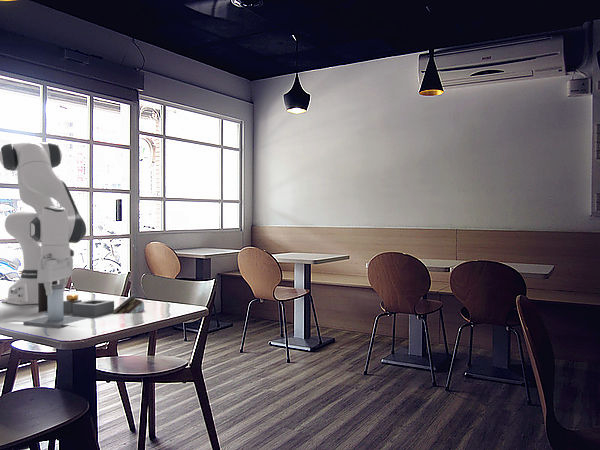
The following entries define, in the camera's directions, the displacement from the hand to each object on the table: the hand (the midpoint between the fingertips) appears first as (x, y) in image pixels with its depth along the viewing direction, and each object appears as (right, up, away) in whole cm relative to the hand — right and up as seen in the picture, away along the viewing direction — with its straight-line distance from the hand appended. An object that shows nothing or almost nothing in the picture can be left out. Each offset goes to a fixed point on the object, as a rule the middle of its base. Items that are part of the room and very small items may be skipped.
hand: (55, 293), depth 177 cm
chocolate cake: (+21, -11, +17) cm, 29 cm away
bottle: (-13, -10, +22) cm, 28 cm away
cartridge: (0, -9, 0) cm, 9 cm away
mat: (0, -10, 0) cm, 10 cm away
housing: (+4, -10, +14) cm, 18 cm away
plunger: (-1, -9, +17) cm, 19 cm away
